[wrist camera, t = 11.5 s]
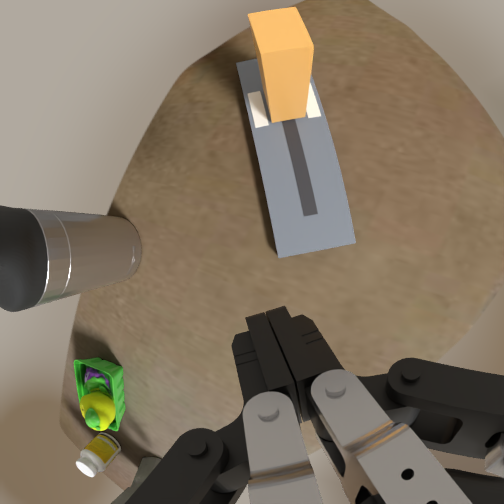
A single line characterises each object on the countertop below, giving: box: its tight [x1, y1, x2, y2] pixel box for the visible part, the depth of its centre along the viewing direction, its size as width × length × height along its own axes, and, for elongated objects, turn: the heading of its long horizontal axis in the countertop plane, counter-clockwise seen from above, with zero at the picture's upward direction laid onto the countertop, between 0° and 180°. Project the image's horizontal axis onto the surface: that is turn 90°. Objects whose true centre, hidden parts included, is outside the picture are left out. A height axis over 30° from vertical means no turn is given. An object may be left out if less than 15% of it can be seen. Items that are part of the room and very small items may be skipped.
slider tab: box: [248, 7, 314, 123], centre depth 23 cm, size 5×4×14 cm
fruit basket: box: [74, 357, 125, 431], centre depth 32 cm, size 11×9×11 cm
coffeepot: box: [111, 457, 162, 504], centre depth 29 cm, size 15×9×18 cm, turn 132°
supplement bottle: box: [76, 433, 121, 477], centre depth 35 cm, size 5×5×10 cm
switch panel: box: [236, 59, 356, 258], centre depth 31 cm, size 26×9×2 cm, turn 11°
